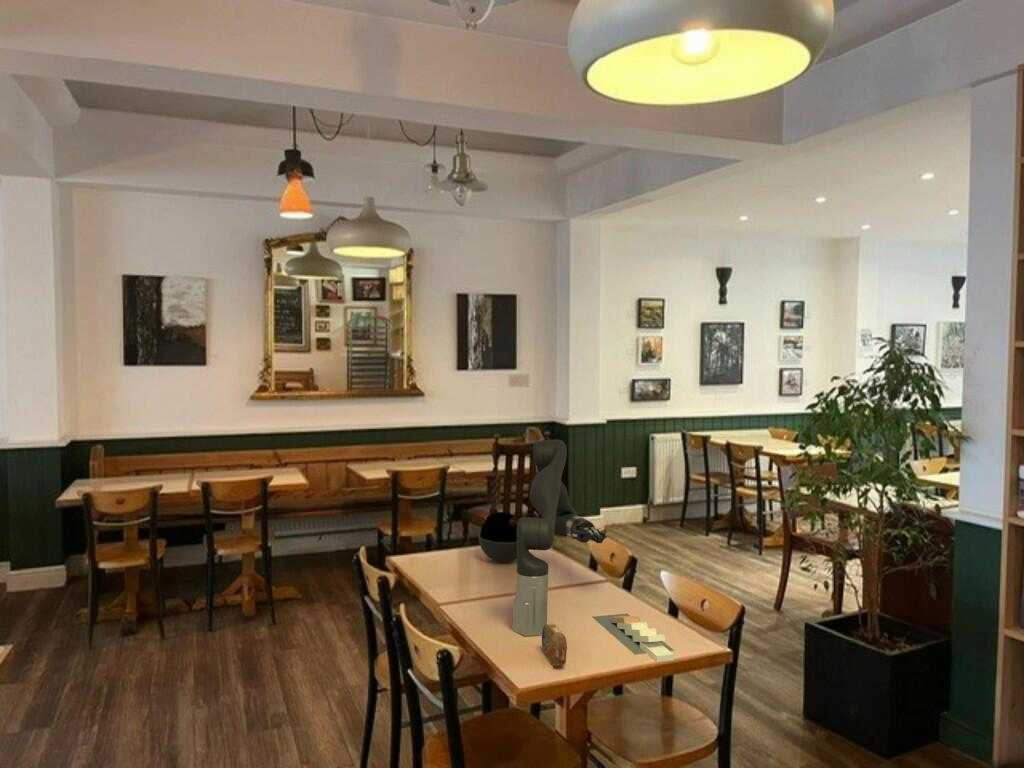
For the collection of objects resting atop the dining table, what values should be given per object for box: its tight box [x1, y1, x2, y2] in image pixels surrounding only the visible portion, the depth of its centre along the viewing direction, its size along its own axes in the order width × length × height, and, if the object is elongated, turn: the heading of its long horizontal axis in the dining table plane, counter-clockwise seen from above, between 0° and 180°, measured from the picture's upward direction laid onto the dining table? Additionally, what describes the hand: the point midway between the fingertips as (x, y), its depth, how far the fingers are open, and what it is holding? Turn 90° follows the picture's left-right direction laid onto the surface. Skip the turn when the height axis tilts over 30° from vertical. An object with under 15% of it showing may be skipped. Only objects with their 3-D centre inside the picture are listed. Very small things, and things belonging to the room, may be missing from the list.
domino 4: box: [632, 633, 666, 642], centre depth 211 cm, size 2×5×10 cm
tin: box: [541, 623, 568, 668], centre depth 202 cm, size 15×3×8 cm, turn 14°
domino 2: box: [617, 621, 649, 630], centre depth 221 cm, size 2×5×10 cm
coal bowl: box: [477, 511, 517, 564], centre depth 294 cm, size 20×20×19 cm
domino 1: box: [610, 615, 641, 623], centre depth 225 cm, size 2×5×10 cm
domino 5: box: [640, 641, 675, 663], centre depth 206 cm, size 2×5×10 cm
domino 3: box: [625, 627, 657, 636], centre depth 216 cm, size 2×5×10 cm
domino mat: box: [592, 613, 675, 655], centre depth 222 cm, size 30×12×1 cm, turn 17°
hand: (600, 540), depth 243 cm, fingers closed
